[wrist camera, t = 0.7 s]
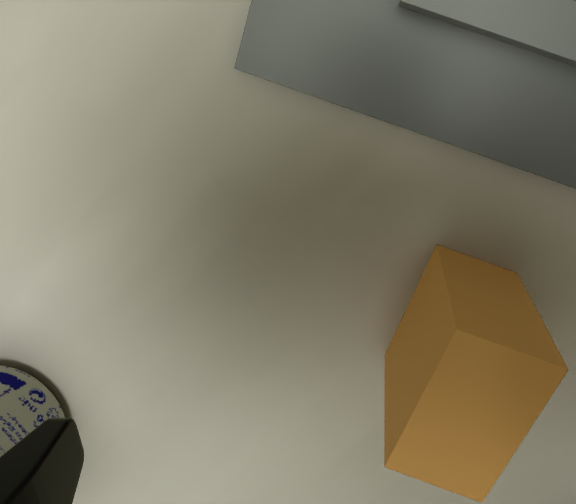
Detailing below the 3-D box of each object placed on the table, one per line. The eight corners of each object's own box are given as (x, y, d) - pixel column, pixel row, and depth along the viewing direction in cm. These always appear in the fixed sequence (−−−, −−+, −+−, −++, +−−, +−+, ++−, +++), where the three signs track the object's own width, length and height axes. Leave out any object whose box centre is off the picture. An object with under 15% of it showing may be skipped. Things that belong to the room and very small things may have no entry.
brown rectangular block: (517, 273, 20) (568, 369, 14) (457, 381, 22) (482, 503, 16) (436, 244, 20) (456, 328, 14) (384, 355, 22) (384, 466, 16)
